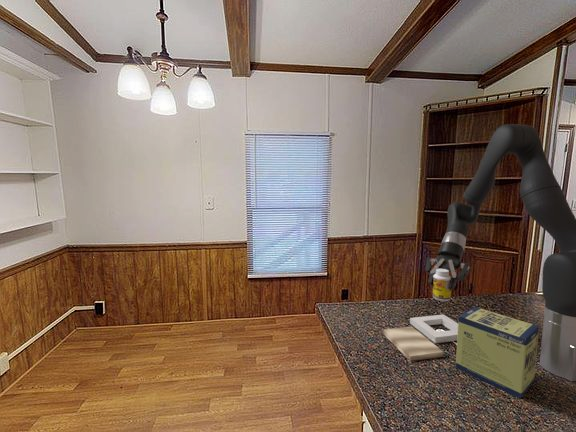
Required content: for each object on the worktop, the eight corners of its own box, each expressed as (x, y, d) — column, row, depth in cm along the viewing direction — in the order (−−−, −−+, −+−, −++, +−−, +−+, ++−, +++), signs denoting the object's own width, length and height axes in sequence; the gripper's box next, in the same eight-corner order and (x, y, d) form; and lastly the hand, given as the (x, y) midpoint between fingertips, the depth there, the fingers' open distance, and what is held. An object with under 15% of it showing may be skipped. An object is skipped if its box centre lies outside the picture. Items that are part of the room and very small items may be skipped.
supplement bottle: (428, 296, 104) (429, 268, 103) (441, 294, 106) (442, 267, 104) (441, 302, 99) (442, 273, 98) (454, 300, 100) (455, 271, 99)
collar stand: (472, 338, 98) (472, 332, 98) (435, 343, 95) (435, 337, 95) (443, 319, 111) (443, 314, 111) (409, 323, 109) (410, 317, 109)
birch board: (443, 356, 88) (443, 351, 88) (410, 360, 86) (410, 356, 86) (411, 330, 104) (411, 326, 103) (383, 333, 102) (383, 329, 102)
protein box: (522, 400, 70) (527, 339, 68) (454, 367, 83) (457, 315, 81) (535, 382, 76) (540, 325, 75) (470, 354, 89) (473, 305, 87)
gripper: (429, 238, 110) (416, 276, 103) (473, 243, 100) (461, 286, 93) (433, 250, 115) (421, 287, 107) (476, 255, 104) (465, 297, 97)
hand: (440, 286), depth 100 cm, fingers closed on supplement bottle, 5 cm apart
